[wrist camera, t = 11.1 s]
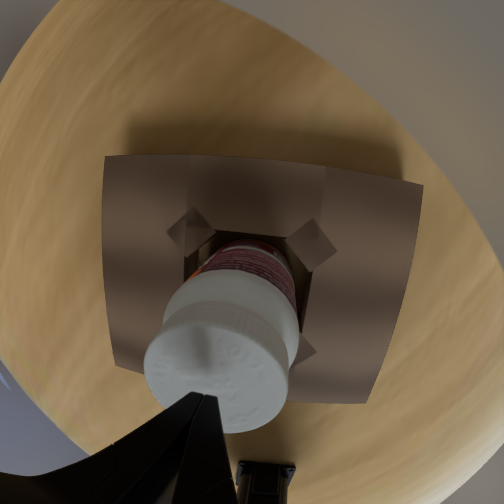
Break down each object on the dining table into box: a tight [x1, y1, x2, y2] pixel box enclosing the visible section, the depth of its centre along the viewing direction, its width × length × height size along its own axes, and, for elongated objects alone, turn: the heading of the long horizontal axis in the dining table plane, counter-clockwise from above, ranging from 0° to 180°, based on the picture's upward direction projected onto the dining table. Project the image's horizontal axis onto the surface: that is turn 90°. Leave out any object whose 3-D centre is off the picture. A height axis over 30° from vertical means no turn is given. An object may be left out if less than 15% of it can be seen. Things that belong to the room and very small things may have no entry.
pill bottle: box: [144, 239, 299, 433], centre depth 14 cm, size 6×6×11 cm
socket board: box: [102, 154, 423, 404], centre depth 18 cm, size 16×20×3 cm
